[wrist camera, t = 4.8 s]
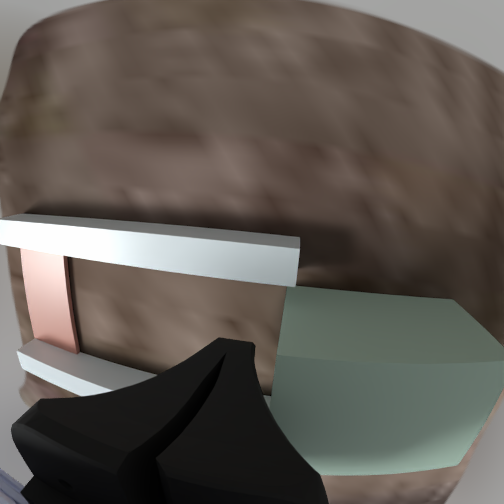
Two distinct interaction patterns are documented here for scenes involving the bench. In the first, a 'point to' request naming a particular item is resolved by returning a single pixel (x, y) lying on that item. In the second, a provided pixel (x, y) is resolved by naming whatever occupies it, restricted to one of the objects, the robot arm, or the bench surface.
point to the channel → (132, 254)
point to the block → (382, 380)
